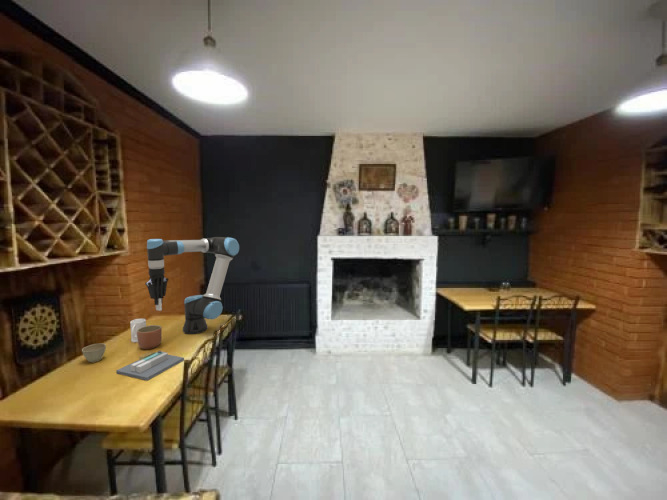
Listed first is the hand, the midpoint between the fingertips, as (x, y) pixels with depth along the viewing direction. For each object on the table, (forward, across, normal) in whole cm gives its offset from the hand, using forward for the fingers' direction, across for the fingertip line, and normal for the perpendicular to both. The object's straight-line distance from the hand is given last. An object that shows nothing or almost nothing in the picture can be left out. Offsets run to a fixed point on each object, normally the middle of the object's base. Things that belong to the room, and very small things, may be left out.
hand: (158, 310), depth 174 cm
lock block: (+23, +12, +4) cm, 26 cm away
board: (+24, +14, +9) cm, 30 cm away
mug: (+25, -8, -28) cm, 38 cm away
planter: (+25, -4, -13) cm, 28 cm away
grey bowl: (+25, +19, -25) cm, 40 cm away
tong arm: (+23, +15, +8) cm, 28 cm away
